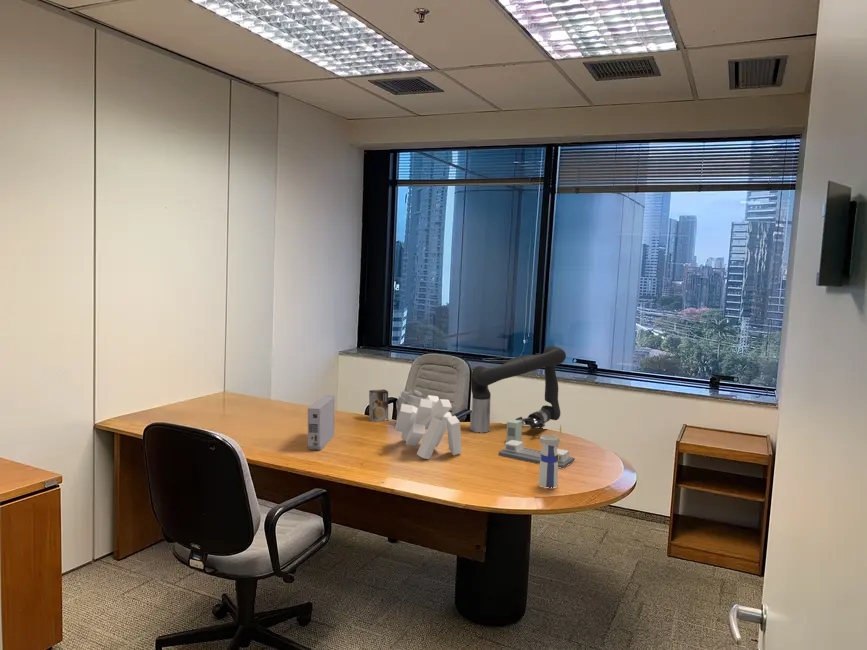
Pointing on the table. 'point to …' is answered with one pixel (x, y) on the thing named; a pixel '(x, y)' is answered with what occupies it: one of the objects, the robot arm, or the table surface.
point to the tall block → (514, 430)
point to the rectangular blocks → (518, 445)
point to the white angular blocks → (429, 425)
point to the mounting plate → (532, 453)
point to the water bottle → (549, 461)
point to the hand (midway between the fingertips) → (523, 425)
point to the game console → (321, 422)
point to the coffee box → (378, 405)
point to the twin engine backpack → (409, 399)
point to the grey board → (531, 459)
